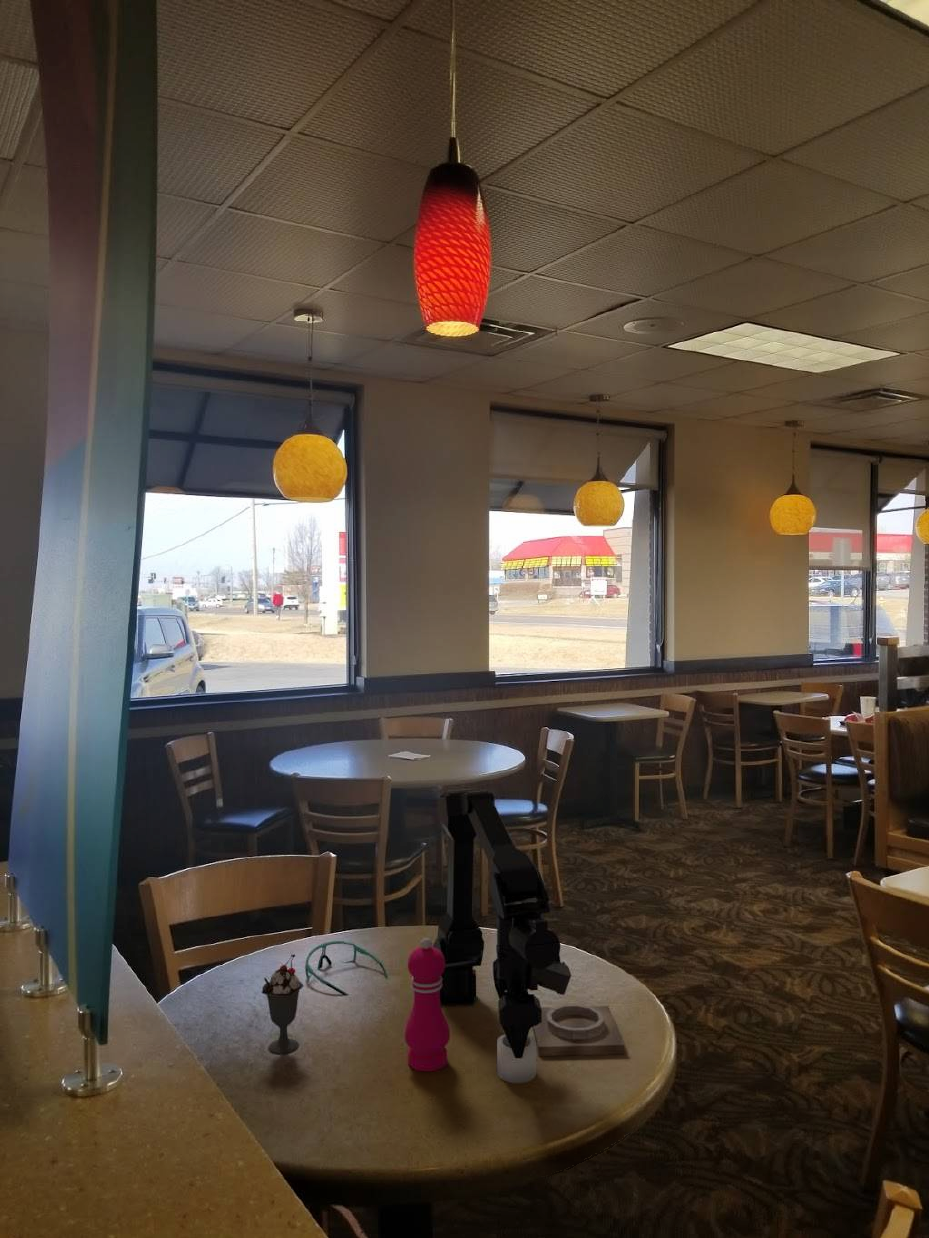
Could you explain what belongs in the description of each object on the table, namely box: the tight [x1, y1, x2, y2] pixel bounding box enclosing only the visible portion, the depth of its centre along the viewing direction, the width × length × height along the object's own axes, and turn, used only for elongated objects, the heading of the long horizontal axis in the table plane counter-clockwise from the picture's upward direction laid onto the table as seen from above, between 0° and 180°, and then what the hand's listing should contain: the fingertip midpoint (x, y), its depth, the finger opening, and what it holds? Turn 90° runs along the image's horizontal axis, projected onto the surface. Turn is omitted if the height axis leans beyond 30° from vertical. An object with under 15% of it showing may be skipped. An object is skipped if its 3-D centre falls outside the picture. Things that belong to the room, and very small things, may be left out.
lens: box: [496, 1033, 537, 1084], centre depth 141 cm, size 6×6×5 cm
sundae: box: [261, 954, 304, 1055], centre depth 150 cm, size 7×7×15 cm
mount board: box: [532, 1003, 626, 1057], centre depth 153 cm, size 14×14×3 cm
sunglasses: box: [304, 940, 389, 996], centre depth 178 cm, size 14×15×5 cm
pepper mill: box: [404, 937, 451, 1072], centre depth 144 cm, size 7×7×20 cm
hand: (516, 1042), depth 141 cm, fingers open, 9 cm apart
